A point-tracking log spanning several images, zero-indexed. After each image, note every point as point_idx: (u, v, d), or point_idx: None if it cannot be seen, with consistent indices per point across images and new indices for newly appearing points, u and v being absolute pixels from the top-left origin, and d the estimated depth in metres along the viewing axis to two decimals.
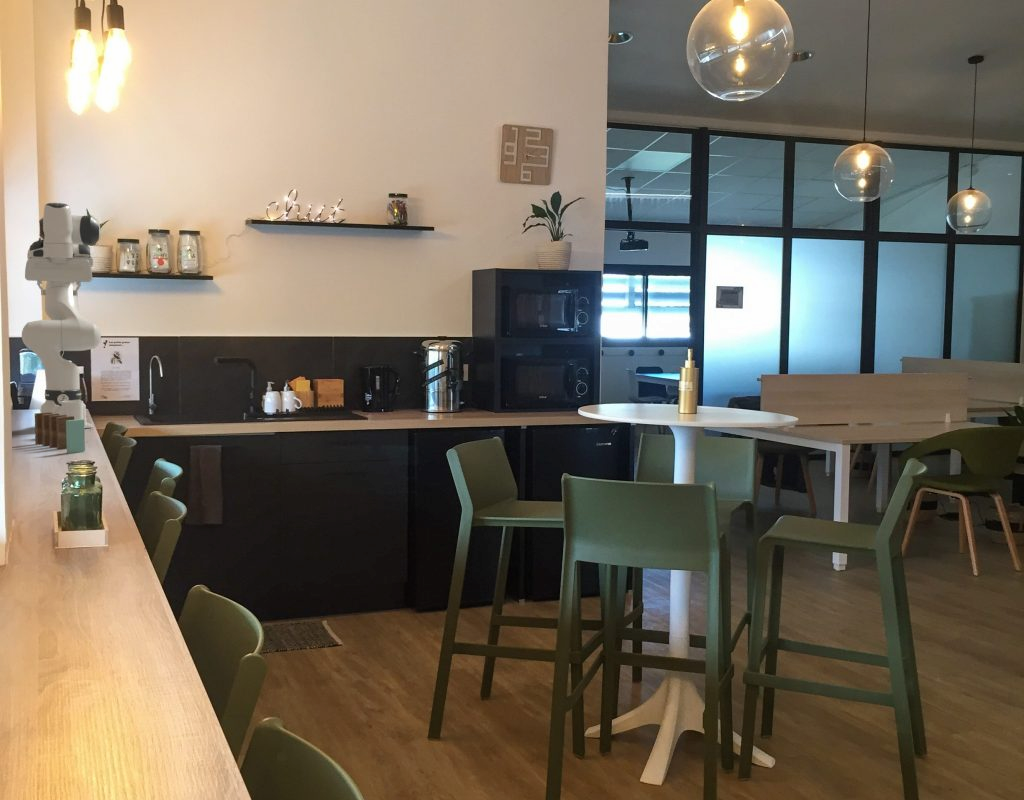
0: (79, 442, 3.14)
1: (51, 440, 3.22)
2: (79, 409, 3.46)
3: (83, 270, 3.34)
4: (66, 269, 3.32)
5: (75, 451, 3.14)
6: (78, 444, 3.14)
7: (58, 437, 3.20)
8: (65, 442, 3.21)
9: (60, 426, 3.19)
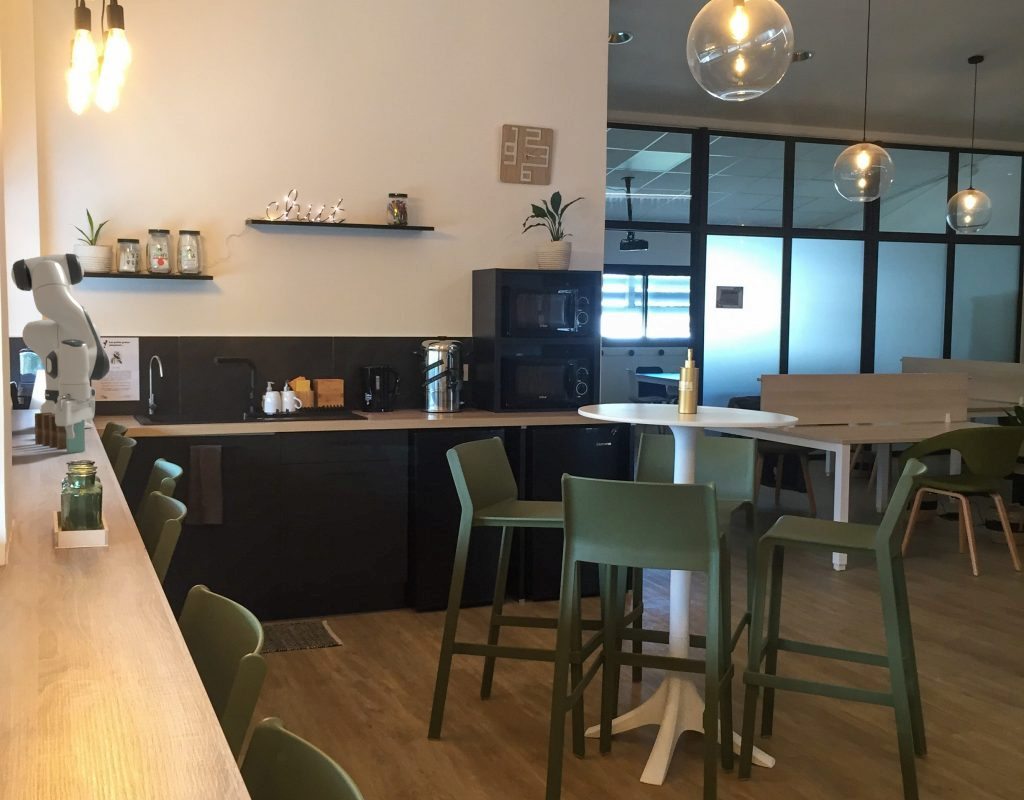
0: (79, 442, 3.14)
1: (51, 440, 3.22)
2: None
3: None
4: None
5: (75, 451, 3.14)
6: (77, 444, 3.14)
7: (58, 437, 3.20)
8: (65, 442, 3.21)
9: (60, 426, 3.19)
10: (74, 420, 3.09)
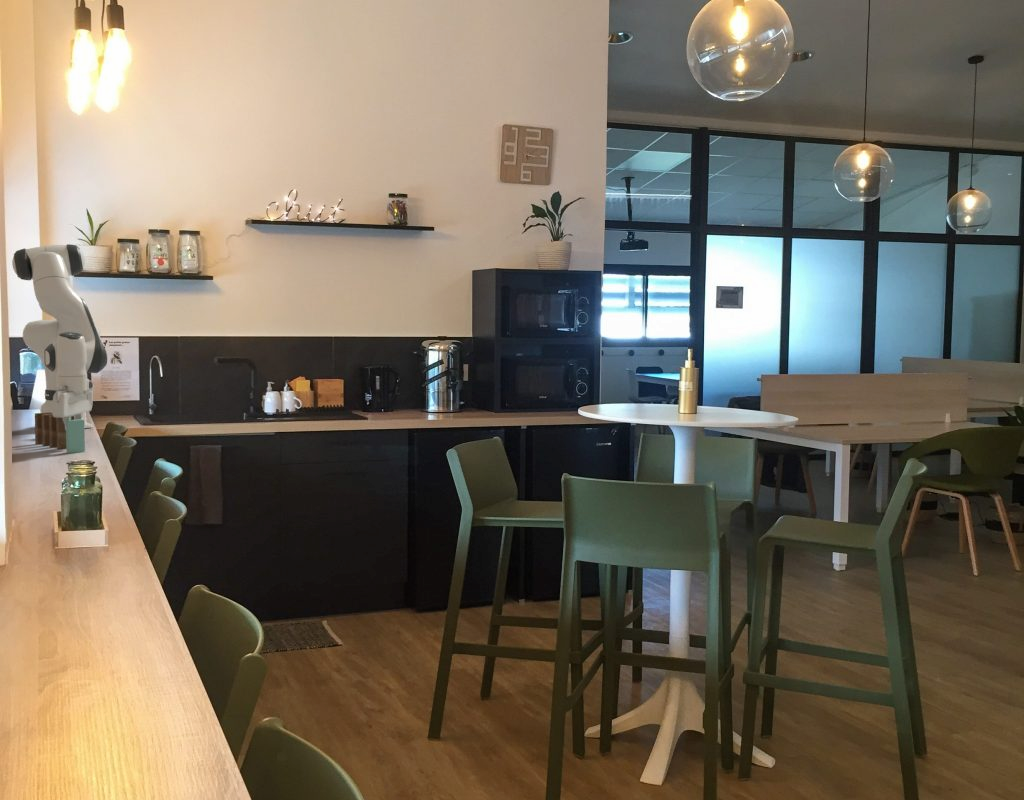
0: (79, 442, 3.14)
1: (51, 440, 3.22)
2: None
3: None
4: None
5: (74, 451, 3.14)
6: (77, 444, 3.14)
7: (58, 437, 3.20)
8: (65, 442, 3.21)
9: (60, 426, 3.19)
10: (71, 412, 3.13)
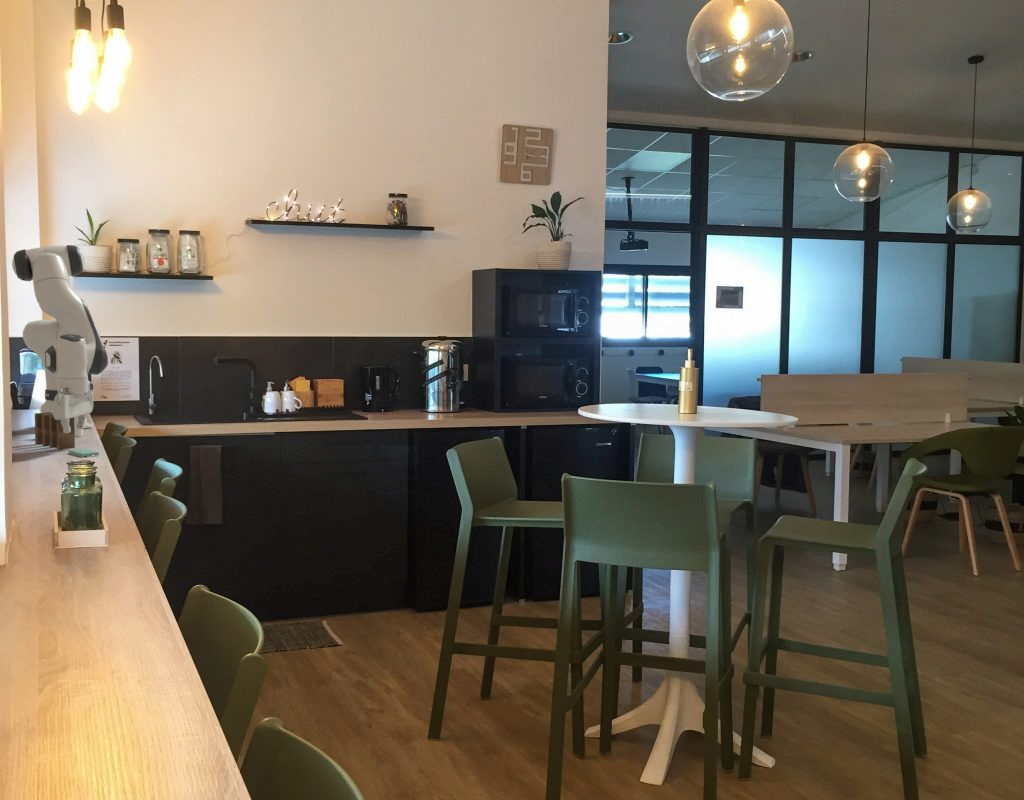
0: None
1: (51, 440, 3.22)
2: None
3: None
4: None
5: None
6: None
7: (58, 437, 3.20)
8: (65, 442, 3.21)
9: (60, 426, 3.19)
10: (72, 414, 3.13)
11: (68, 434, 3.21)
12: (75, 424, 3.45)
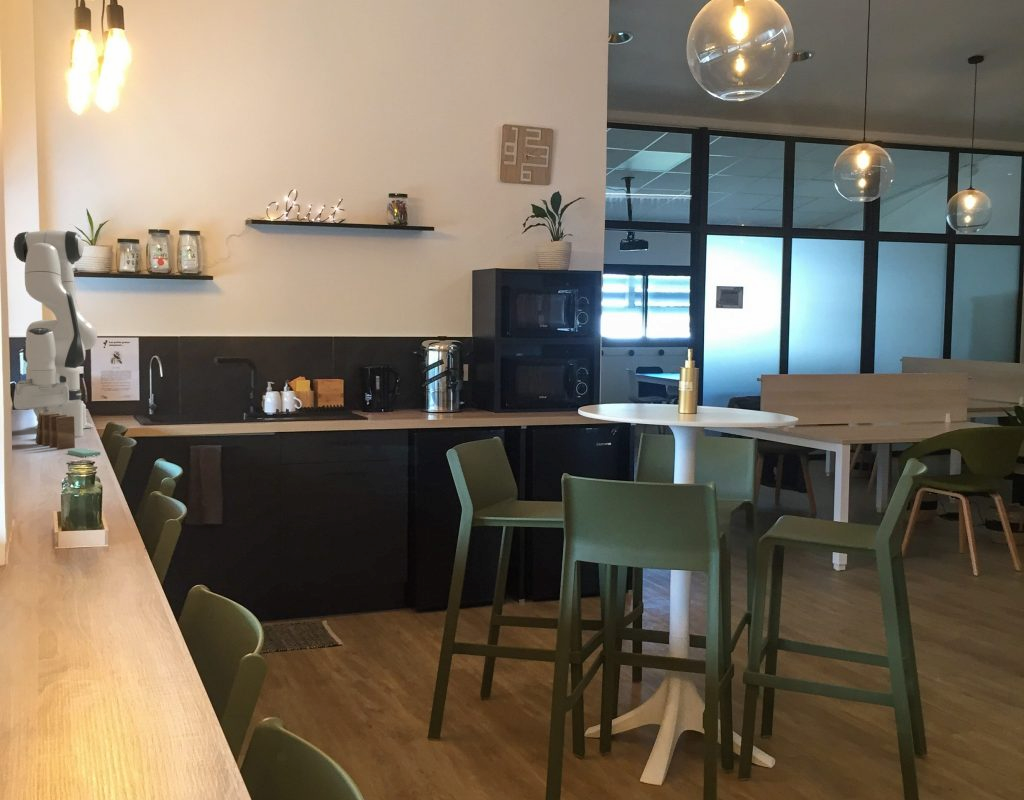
0: None
1: (51, 440, 3.22)
2: (79, 409, 3.46)
3: None
4: None
5: None
6: None
7: (58, 437, 3.20)
8: (65, 442, 3.21)
9: (60, 426, 3.19)
10: (35, 404, 3.24)
11: (68, 434, 3.21)
12: (75, 424, 3.45)
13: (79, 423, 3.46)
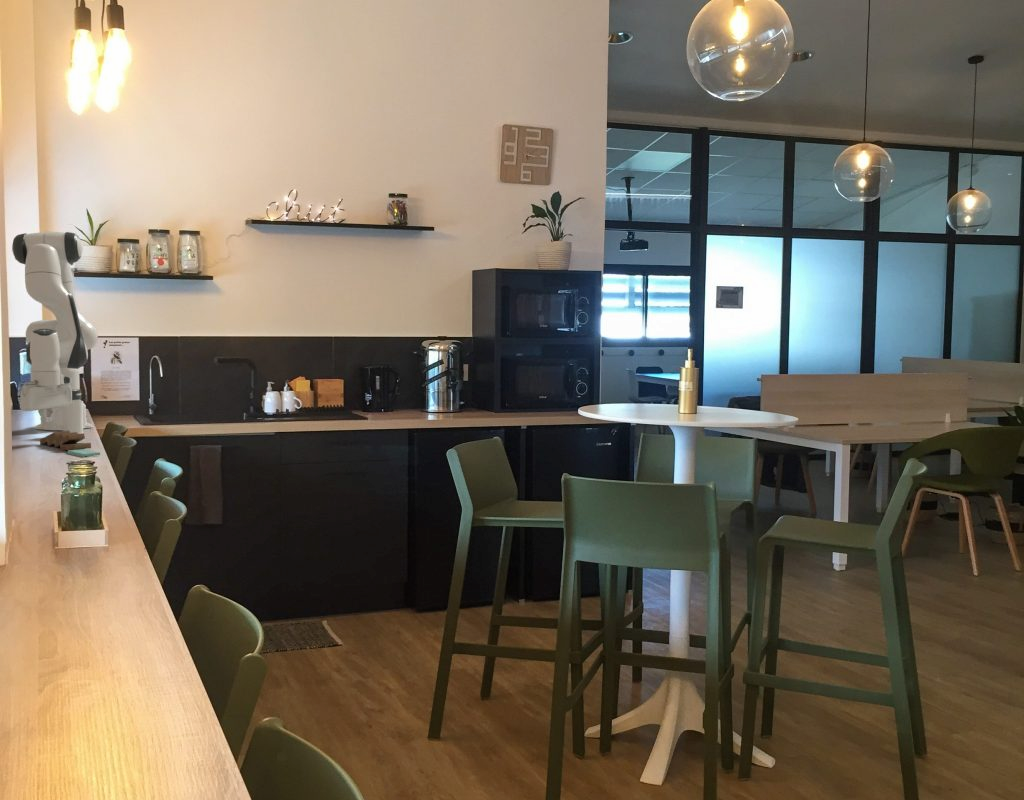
0: None
1: (58, 444, 3.20)
2: (79, 409, 3.46)
3: None
4: None
5: None
6: None
7: (65, 447, 3.17)
8: None
9: (72, 449, 3.15)
10: (41, 406, 3.23)
11: None
12: (75, 424, 3.45)
13: (79, 423, 3.46)
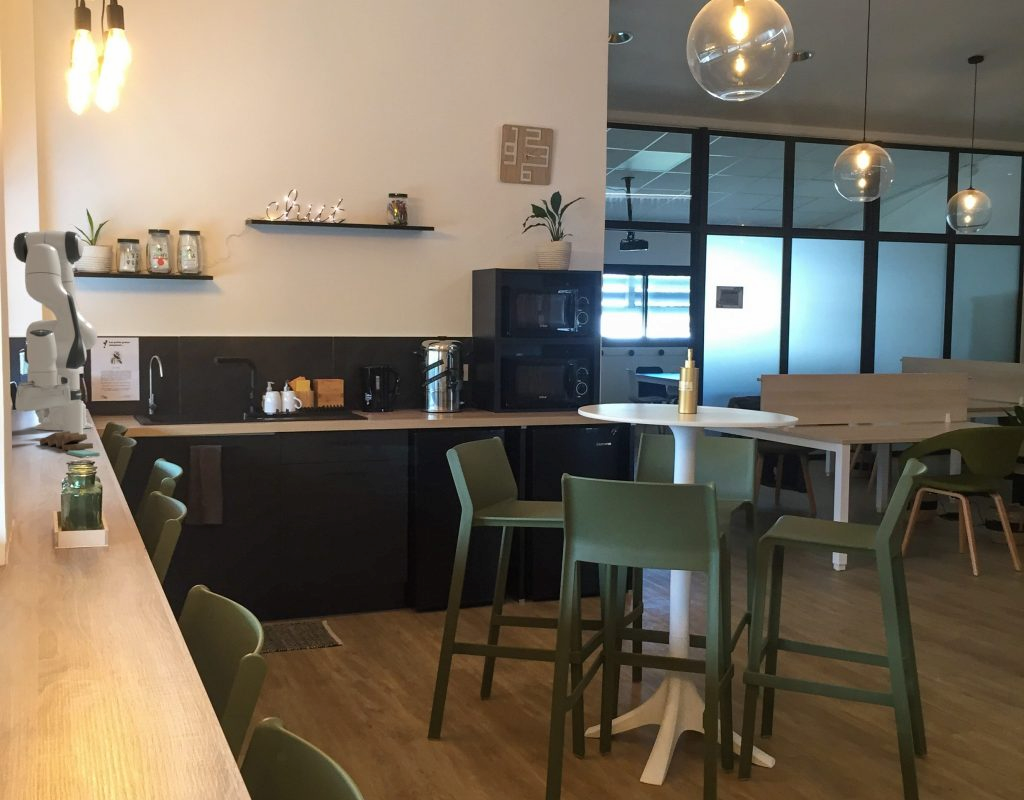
0: None
1: (59, 444, 3.20)
2: (79, 409, 3.46)
3: None
4: None
5: None
6: None
7: (67, 448, 3.16)
8: None
9: (74, 449, 3.14)
10: (37, 406, 3.25)
11: None
12: (75, 424, 3.45)
13: (79, 423, 3.46)
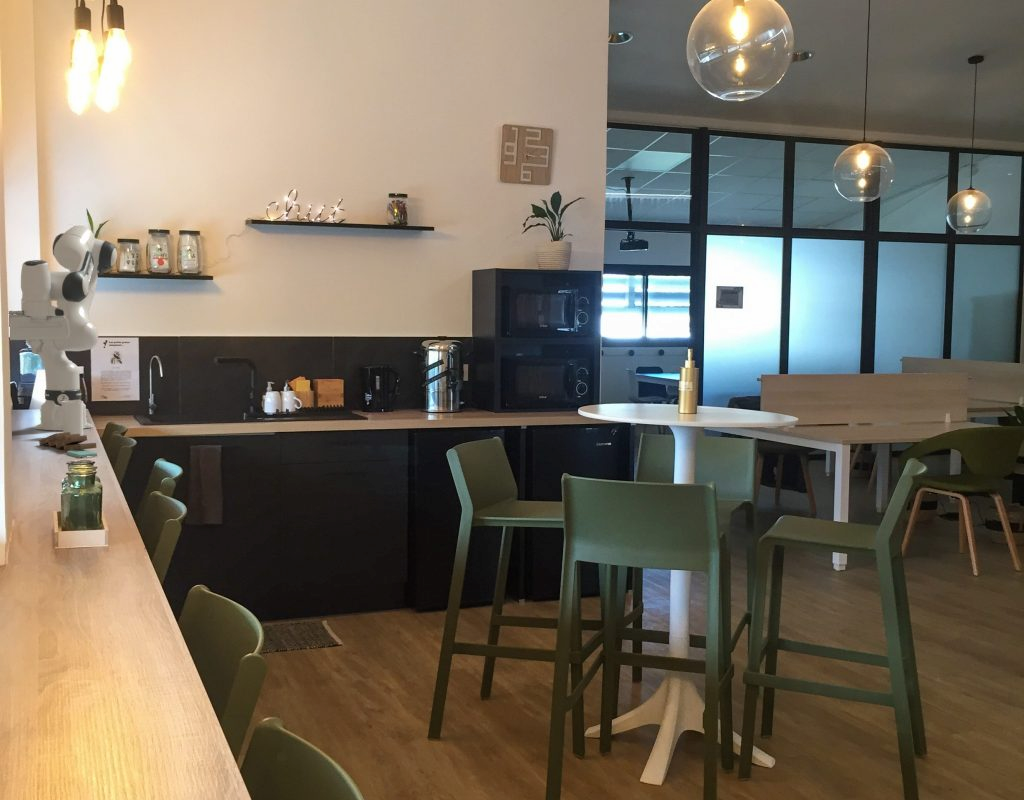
0: None
1: (59, 445, 3.18)
2: (79, 409, 3.46)
3: None
4: None
5: None
6: None
7: (70, 448, 3.15)
8: None
9: (77, 449, 3.13)
10: (25, 336, 3.24)
11: None
12: (75, 424, 3.45)
13: (79, 423, 3.46)
